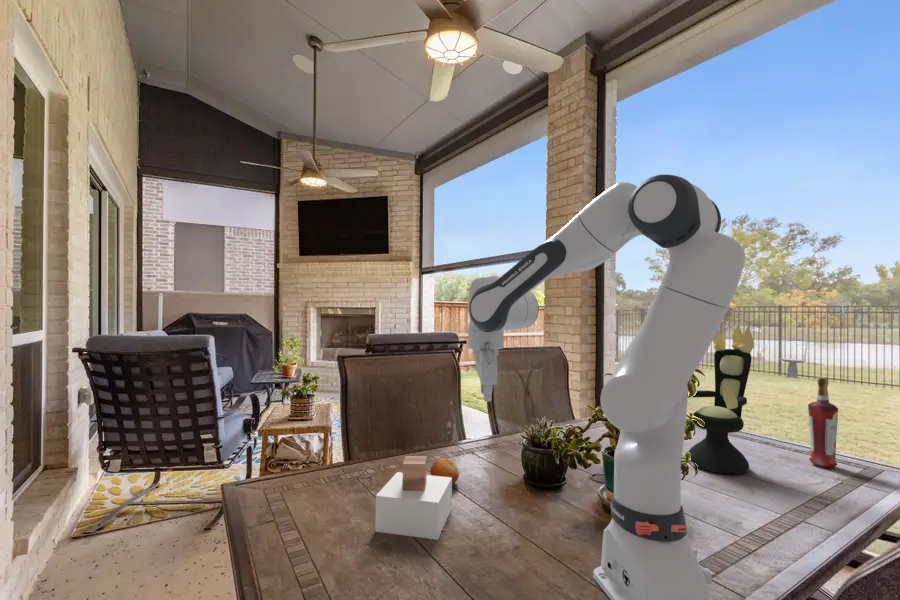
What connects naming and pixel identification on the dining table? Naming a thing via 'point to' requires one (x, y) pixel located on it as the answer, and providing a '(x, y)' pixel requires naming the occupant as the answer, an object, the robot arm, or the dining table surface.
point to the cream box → (414, 507)
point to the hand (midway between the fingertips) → (486, 397)
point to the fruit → (445, 469)
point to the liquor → (823, 427)
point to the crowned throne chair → (725, 406)
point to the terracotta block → (414, 473)
